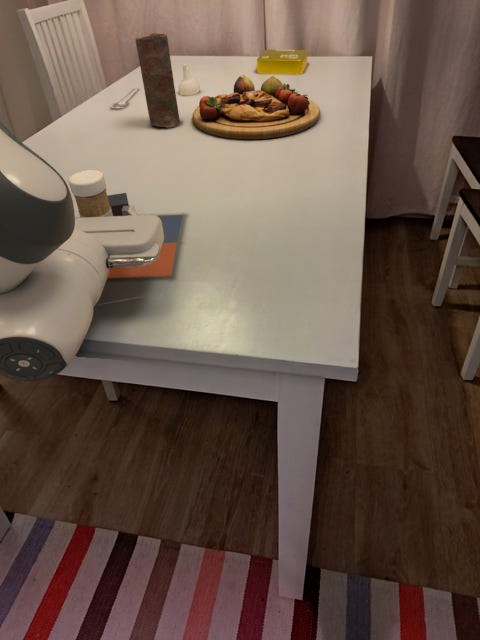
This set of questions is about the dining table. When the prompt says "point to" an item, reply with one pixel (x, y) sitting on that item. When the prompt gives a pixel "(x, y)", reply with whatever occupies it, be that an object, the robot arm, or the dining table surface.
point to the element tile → (282, 62)
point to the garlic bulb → (188, 84)
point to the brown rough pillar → (158, 80)
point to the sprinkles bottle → (90, 194)
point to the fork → (125, 99)
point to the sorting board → (165, 257)
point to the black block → (118, 203)
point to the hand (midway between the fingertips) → (97, 211)
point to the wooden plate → (256, 111)
